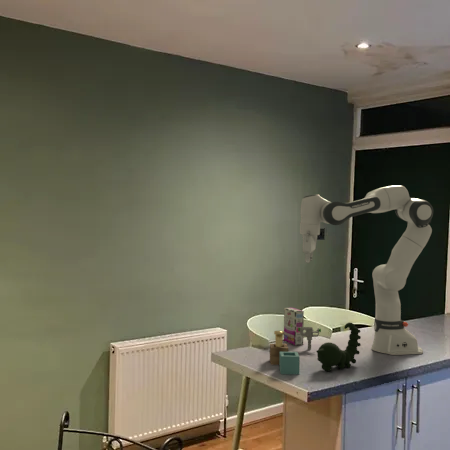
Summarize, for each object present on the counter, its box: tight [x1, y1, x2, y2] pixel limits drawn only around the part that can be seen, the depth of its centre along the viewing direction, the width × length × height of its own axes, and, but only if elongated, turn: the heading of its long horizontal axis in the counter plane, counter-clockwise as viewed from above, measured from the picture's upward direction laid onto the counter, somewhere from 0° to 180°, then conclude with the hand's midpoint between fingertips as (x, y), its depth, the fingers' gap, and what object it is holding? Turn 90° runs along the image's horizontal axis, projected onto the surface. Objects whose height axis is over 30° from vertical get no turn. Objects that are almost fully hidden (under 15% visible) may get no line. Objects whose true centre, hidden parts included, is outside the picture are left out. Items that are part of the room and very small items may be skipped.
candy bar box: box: [283, 307, 305, 346], centre depth 260 cm, size 11×5×16 cm, turn 23°
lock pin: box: [274, 330, 284, 347], centre depth 226 cm, size 4×4×13 cm
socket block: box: [278, 351, 301, 375], centre depth 213 cm, size 7×7×7 cm
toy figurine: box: [315, 322, 362, 372], centre depth 218 cm, size 9×19×25 cm
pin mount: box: [269, 343, 289, 366], centre depth 226 cm, size 7×7×7 cm
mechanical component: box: [298, 326, 322, 351], centre depth 248 cm, size 3×10×10 cm, turn 78°
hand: (308, 261), depth 239 cm, fingers open, 8 cm apart
